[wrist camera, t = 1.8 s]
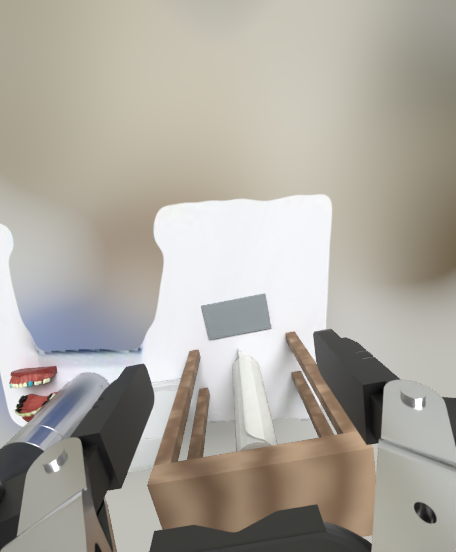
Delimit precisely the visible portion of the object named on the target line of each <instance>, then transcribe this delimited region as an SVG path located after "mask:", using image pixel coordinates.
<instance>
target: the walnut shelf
mask: <svg viewBox="0 0 456 552" xmlns="http://www.w3.org/2000/svg"><path fill="white" fill-rule="evenodd" d="M286 339H287V342H288V344H289V346H290V348H291V350H292V352H293V353H294V355H295V357H296V359H297V361H298V362H299V364H300V366H301V368H302V370H303V372H304V373H305V375H306V377H307V379H308V381H309V383H310V384H311V386H312V388H313V390H314V392H315V394H316V395H317V397H318V399H319V401H320V403H321V405H322V406H323V408H324V410H325V412H326V414H327V416H328V417H329V419H330V421H331V423H332V425H333V426H334V428H335V430H336V432H337V434H338V435H334V433H333V432H332V430H331V428H330V426H329V424H328V422H327V420H326V418H325V416H324V414H323V413H322V411H321V409H320V407H319V405H318V403H317V401H316V399H315V397H314V396H313V394H312V392H311V390H310V388H309V386H308V384H307V382H306V380H305V378H304V377H303V375H302V373H301V371H297V372H292V376H293V381H294V383H295V385H296V387H297V390H298V392H299V394H300V396H301V399H302V401H303V403H304V405H305V408H306V410H307V412H308V414H309V417H310V419H311V421H312V423H313V425H314V428H315V430H316V432H317V434H318V437H319V438H314V439H309V440H303V441H297V442H291V443H285V444H279V445H273V446H267V447H261V448H255V449H249V450H243V451H238V452H232V453H226V454H220V455H214V456H209V457H203V452H204V443H205V433H206V424H207V415H208V406H209V397H210V394H209V390H208V388H203V389H200V390H199V395H198V401H197V407H196V412H195V418H194V424H193V429H192V435H191V441H190V446H189V452H188V458H187V460H185V461H178V458H179V454H180V449H181V444H182V440H183V435H184V430H185V425H186V421H187V417H188V412H189V407H190V403H191V398H192V394H193V389H194V384H195V380H196V375H197V371H198V366H199V361H200V354H199V350H193V351H190V352H189V355H188V358H187V362H186V365H185V368H184V371H183V374H182V377H181V381H180V384H179V387H178V390H177V393H176V396H175V399H174V403H173V406H172V409H171V412H170V415H169V418H168V422H167V425H166V428H165V431H164V434H163V437H162V440H161V444H160V447H159V450H158V453H157V456H156V459H155V463H154V466H153V469H152V472H151V475H150V479H149V481H148V485H147V486H148V489H149V492H150V494H151V497H152V500H153V503H154V506H155V509H156V512H157V515H158V517H159V520H160V524H161V526H162V529H163V530H164V529H170V528H176V527H182V526H188V525H198V526H203V527H208V528H213V529H218V530H223V531H228V532H238V531H241V530H242V529H244V528H246V527H248V526H250V525H252V524H253V523H255V522H257V521H259V520H261V519H263V518H264V517H266V516H268V515H270V514H272V513H274V512H276V511H279V510H285V509H291V508H297V507H303V506H309V505H315V504H317V505H318V508H319V511H320V514H321V517H322V520H323V522H328V523H332V524H335V525H338V526H341V527H344V528H346V529H348V530H350V531H352V532H354V533H356V534H358V535H359V536H361V537H363V536H369V535H373V520H374V505H375V489H376V475H375V463H374V452H373V447H372V445H371V444H370V445H366V443H365V442H364V440H363V439H362V437H361V436H360V434H359V433H358V431H357V430H356V428H355V427H354V425H353V423H352V422H351V420H350V419H349V417H348V416H347V414H346V413H345V411H344V410H343V408H342V407H341V405H340V404H339V402H338V401H337V399H336V398H335V396H334V394H333V393H332V391H331V390H330V388H329V387H328V385H327V384H326V382H325V381H324V379H323V378H322V376H321V374H320V372H319V370H318V366H317V364H316V363H315V361H314V360H313V358H312V357H311V355H310V354H309V352H308V351H307V349H306V348H305V346H304V345H303V343H302V342H301V340H300V339H299V338H298V336H297V335H296V333H295V332H289V333H286Z"/></svg>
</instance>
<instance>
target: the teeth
mask: <svg viewBox="0 0 456 552" xmlns="http://www.w3.org/2000/svg"><path fill="white" fill-rule="evenodd" d="M56 370H57V367H56V366H51V367H39V368H27V369H20V370H16V371H13V372H11V376H12V377H11V380H10V383H9V384H10V388H22V387H27V384H28V387H30V386H32V385H35V386H37V385H39V384H45V383H48V382H50V378H52V377H53V376H54V375H55V373H56ZM56 393H57V392H54V393H51V394H50V395H49V396H37V395H34V394H29V395H26V396H21V398H20V399H19V401H18V402H19V404H17V406H16V408H17V409H16V410H15V413H16V414H18V415H19V416H22V418H23V419H24V420H25V421H27V422H29V421H30V420H31V419H32V418H34V415H35V413H36V412H37V411H38V410H39V409H40V408H41V407H43V406H44V405H45V404H46V403H47V402H48V401H49V400H50V399H51V398H52V397H53V396H54V395H55V394H56Z"/></svg>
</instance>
